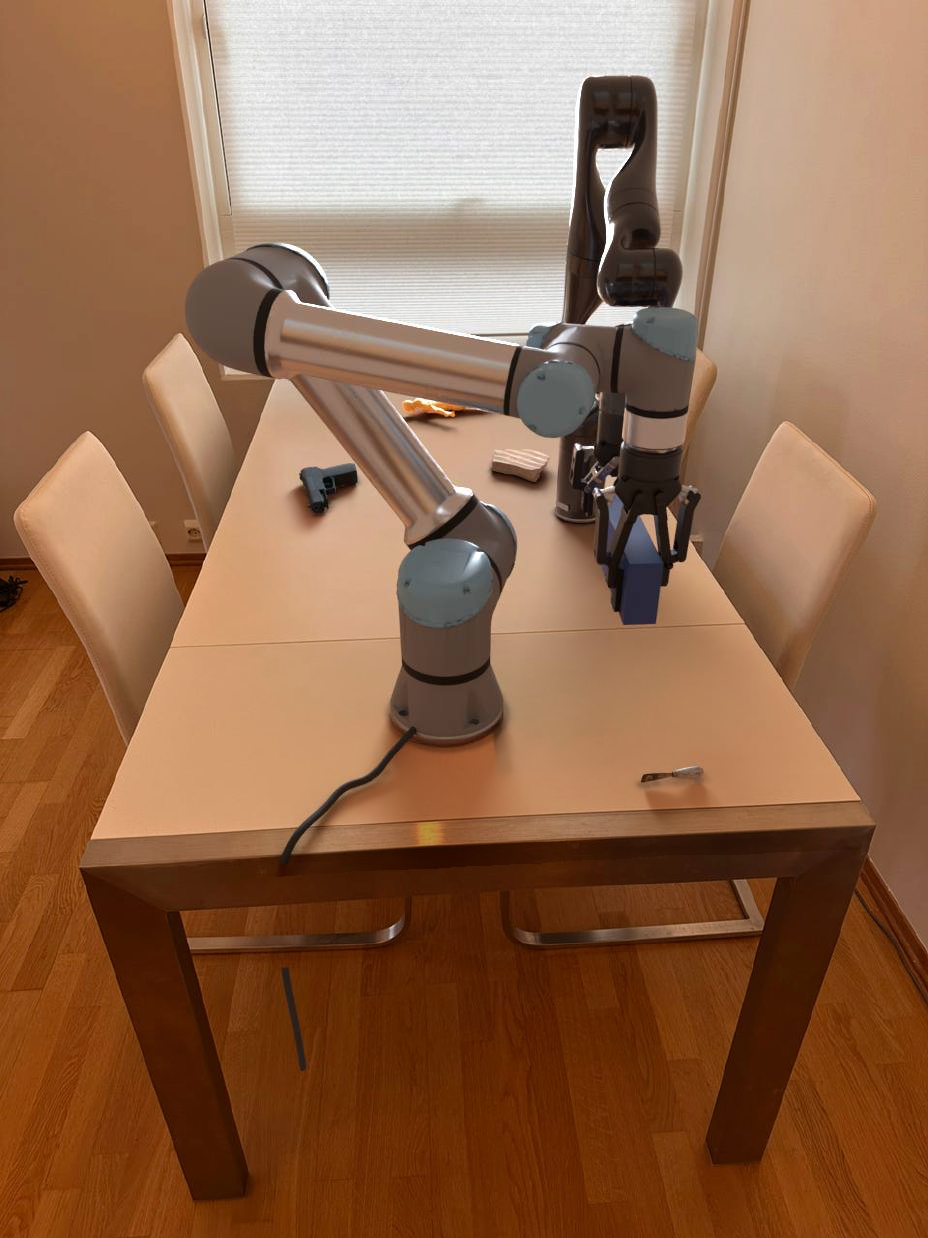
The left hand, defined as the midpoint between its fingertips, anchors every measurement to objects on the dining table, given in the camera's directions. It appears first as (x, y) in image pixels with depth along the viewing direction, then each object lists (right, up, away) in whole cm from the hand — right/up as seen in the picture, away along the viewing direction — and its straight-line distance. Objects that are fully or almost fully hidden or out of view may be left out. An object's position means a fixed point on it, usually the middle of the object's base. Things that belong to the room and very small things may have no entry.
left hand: (633, 606), depth 121 cm
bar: (0, +3, +7) cm, 7 cm away
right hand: (-1, +14, +9) cm, 16 cm away
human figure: (-26, +51, +105) cm, 120 cm away
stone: (-11, +30, +71) cm, 78 cm away
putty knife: (+2, -22, -12) cm, 25 cm away
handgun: (-50, +24, +61) cm, 82 cm away
